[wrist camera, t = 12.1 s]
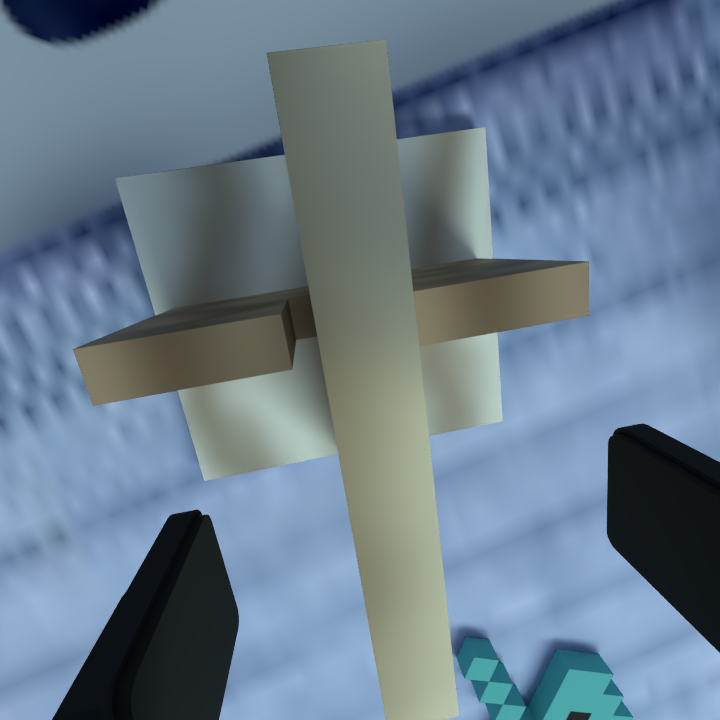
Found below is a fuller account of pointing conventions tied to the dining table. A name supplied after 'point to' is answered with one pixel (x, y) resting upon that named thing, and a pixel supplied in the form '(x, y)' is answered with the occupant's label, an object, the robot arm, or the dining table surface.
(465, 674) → the alien figure
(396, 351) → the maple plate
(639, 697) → the dining table surface
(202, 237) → the cross base
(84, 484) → the dining table surface
